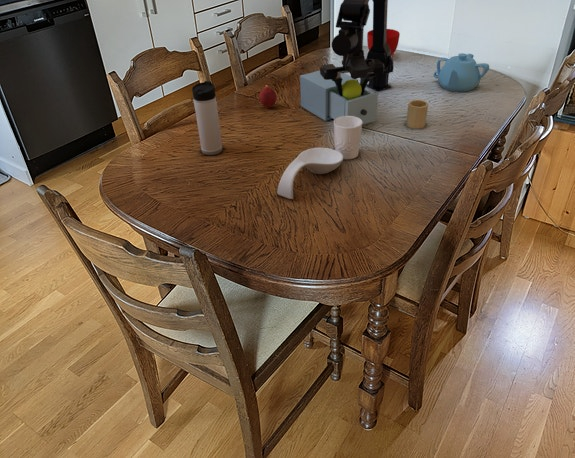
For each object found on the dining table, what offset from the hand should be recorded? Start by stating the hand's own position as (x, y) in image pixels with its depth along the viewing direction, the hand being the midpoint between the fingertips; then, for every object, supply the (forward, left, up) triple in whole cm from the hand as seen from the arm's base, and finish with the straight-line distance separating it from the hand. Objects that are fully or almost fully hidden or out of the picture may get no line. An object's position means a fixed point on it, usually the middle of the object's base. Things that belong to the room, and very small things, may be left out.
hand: (351, 96), depth 155 cm
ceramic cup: (-46, -39, -3) cm, 61 cm away
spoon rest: (+30, +22, -9) cm, 38 cm away
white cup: (+14, +17, -9) cm, 24 cm away
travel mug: (+45, -8, -9) cm, 46 cm away
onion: (+16, -25, -9) cm, 31 cm away
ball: (0, 0, +2) cm, 2 cm away
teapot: (-50, -1, -9) cm, 51 cm away
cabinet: (0, -12, -8) cm, 15 cm away
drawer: (0, 0, -7) cm, 7 cm away
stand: (-15, +14, -8) cm, 22 cm away
